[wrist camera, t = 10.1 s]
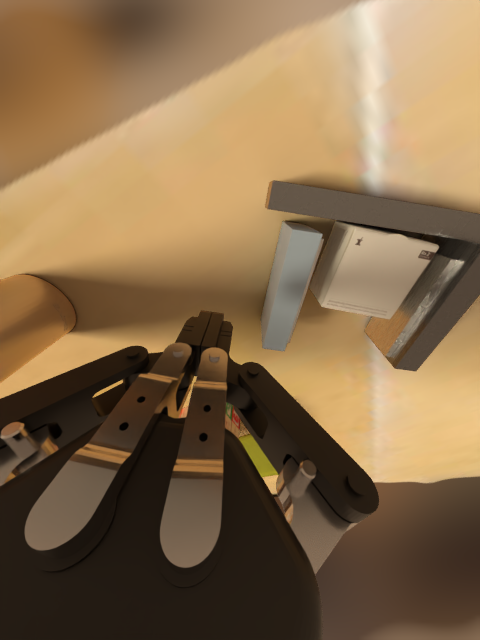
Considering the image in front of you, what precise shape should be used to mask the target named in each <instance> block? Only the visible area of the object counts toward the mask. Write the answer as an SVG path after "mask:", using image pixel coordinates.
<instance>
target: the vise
mask: <svg viewBox="0 0 480 640" xmlns="http://www.w3.org/2000/svg"><path fill="white" fill-rule="evenodd" d="M265 207H266V208H267V209H271V210H277V211H284V212H290V213H296V214H303V215H309V216H315V217H322V218H328V219H334V220H341V221H347V222H353V223H359V224H366V225H372V226H378V227H385V228H391V229H397V230H404V231H410V232H416V233H423V234H422V236H421V238H420V240H424V241H427V242H430V243H434V244H437V245H438V246H439V249H438V250H437V251H436V253H435V254H434V256H433V257H432V259H431V261H430V262H429V263H428V265H427V266H426V268H425V269H424V271H423V272H422V273H421V275H420V276H419V278H418V279H417V281H416V282H415V284H414V285H413V287H412V288H411V290H410V291H409V293H408V294H407V296H406V297H405V299H404V300H403V302H402V303H401V305H400V306H399V308H398V309H397V310H396V312H395V313H394V315H393V316H392V317H391V319H384V318H379V317H373V316H372V318H371V320H370V322H369V324H368V325H367V327H366V329H365V332H366V334H367V335H368V337H369V338H370V339H371V340H372V341H373V343H374V344H375V345H376V346H377V347H378V349H379V350H380V351H381V352H382V354H383V355H384V356H385V357H386V358H387V360H388V361H389V362H390V363H391V365H392V366H393V367H394V368H395V369H402V370H410V371H417V370H418V368H419V367H420V366H421V365H422V363H423V362H424V361H425V360H426V359H427V357H428V356H429V355H430V354H431V353H432V351H433V350H434V349H435V348H436V347H437V345H438V344H439V343H440V342H441V341H442V339H443V338H444V337H445V336H446V335H447V333H448V332H449V331H450V330H451V329H452V327H453V326H454V325H455V324H456V323H457V321H458V320H459V319H460V318H461V317H462V315H463V314H464V313H465V312H466V311H467V309H468V308H469V307H470V306H471V305H472V303H473V302H474V301H475V300H476V298H477V297H478V296H479V295H480V214H477V213H470V212H464V211H458V210H452V209H446V208H440V207H433V206H427V205H421V204H415V203H409V202H403V201H397V200H390V199H384V198H378V197H372V196H366V195H360V194H353V193H347V192H341V191H335V190H329V189H323V188H316V187H310V186H304V185H298V184H292V183H286V182H280V181H271V182H270V183H269V187H268V193H267V198H266V204H265Z"/></svg>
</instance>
